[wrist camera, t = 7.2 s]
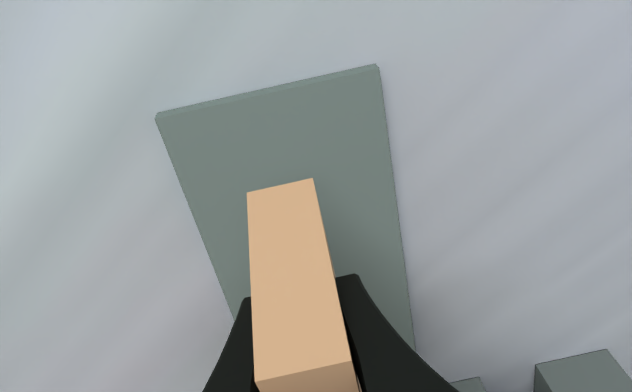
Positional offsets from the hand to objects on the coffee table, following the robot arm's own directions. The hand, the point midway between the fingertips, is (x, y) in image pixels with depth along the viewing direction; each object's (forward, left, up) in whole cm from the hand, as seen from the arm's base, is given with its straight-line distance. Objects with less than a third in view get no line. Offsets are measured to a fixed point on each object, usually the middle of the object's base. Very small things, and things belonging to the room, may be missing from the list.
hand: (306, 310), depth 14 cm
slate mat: (0, +4, -7) cm, 8 cm away
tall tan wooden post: (0, +3, -3) cm, 4 cm away
